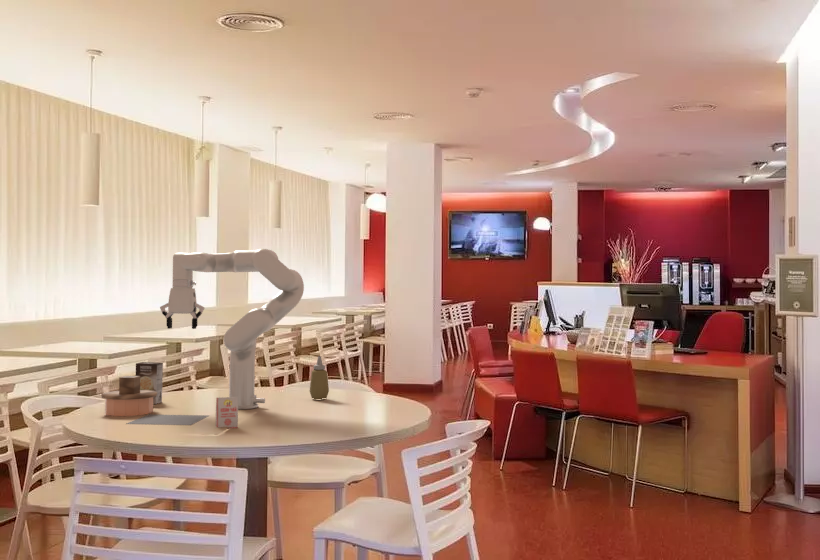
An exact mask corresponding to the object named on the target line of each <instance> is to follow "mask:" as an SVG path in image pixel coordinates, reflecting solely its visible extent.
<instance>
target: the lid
mask: <svg viewBox="0 0 820 560" xmlns="http://www.w3.org/2000/svg"><path fill="white" fill-rule="evenodd" d="M118 379H119V381H118V390H113V391H107V392H106V391H105V392H103V393H101V398H102V399H104V400H105V399H115V400H129V399H144V398H151V397H155V396H157V392H156V391H150V390H140V376H136V375H123V376H120V377H118Z"/></svg>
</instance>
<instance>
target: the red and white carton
mask: <svg viewBox="0 0 820 560" xmlns="http://www.w3.org/2000/svg"><path fill="white" fill-rule="evenodd" d="M215 399H216V402H215V427H216V428H226V427H227V428H226V429H239V425H238V424H239V420H238V419H239V409H238V397H229V396H227V397H226V396H225V397H224V396H222V397H216V398H215Z"/></svg>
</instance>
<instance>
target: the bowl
mask: <svg viewBox="0 0 820 560" xmlns="http://www.w3.org/2000/svg"><path fill="white" fill-rule="evenodd" d="M104 401H105V405H104V413H105V416H106V417H108V416H111V417H112V416H113V417H114V416H115V417H131V416H143V415H149V414H152V413H154V404H153V397H151V398H144V399H129V400H115V399H105V398H104Z"/></svg>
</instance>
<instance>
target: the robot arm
mask: <svg viewBox="0 0 820 560" xmlns="http://www.w3.org/2000/svg"><path fill="white" fill-rule="evenodd" d="M194 272H199V273H229V272H230V273H255V272H257V273H260V274H261V275H262V276H263V277H264V278H265V279H267V281H268V282H270V284H272V285H273V286H274V287H275V288H277V289H278V290H280V291H279V292H278V293H277V294H275V295H274V296H273V297H272V298H270V299H269V300H268V301H267V302H266V303H265V304H264V305H262V306H261V307H256V308H253V309H251V310H249V311H248V312H247V313H245V315H243V316H241V318H240V319H238V320H237V321H236V322H235V323H234V324H233V325H231V326H230V328H228V329H227V330H226V332H225V334H224V335H223V344H224V346H225V348H226V349H228V350H229V351H230V354H229V381H228V382H229V384H228V386H229V387H228V388H229V390H228V391H229V392H228V394H229V395H228V397H238V410H251V409H257V408H258V407H259V404H265V403H266V398H264V397H257V394H255V375H256V374H255V371H256V369H255V368H256V367H255V364H256V349H257V339H258V338H259V337H260V336H261V335H263V333H267V332H269V331H271V329H273V328H274V327H275V325H277V324H278V323H279V322H280V321H281V320H283V319H284V318H285V317H286V316H287V315H288V314H289V313H290V312H291V311H292V310H294V308H296V306H298V304H299V303H300V301H301V299H302V297H303V294H304V291H305V284H304V280H303V277H302V275H301V274H300V273H299V272H298V271H297V270H295V269H292V268H289V267H288V266H286V265H285V264H284V263H283V262H281V261H280V260H279V256H278V254H277V253H276V252H274V250H272V249H267V248H259V249H255V250H254V249H251V250H249V249H247V250H246V249H245V250H244V249H243V250H240V249H239V250H238V249H237V250H234V251H232V252H226V253H223V252H222V253H206V252H201V251H199V252H191V253H190V252H189V253H188V252H175V253H174V254H173V255H172V287H171V288H170V290H169V295H168V302H167V303H165V304H163V305H161V306H159V309H160V311H161V313H162V315H163V316H164V317H165V319H166V328H167V329H168V330H169V329H172V328H173V318H172V317H173V316H174V314H181V315H182V314H189V315H191V317H192V319H191V329H192V330H194V329H197V327H198V319H199V317H201V315H202V314H203V312H204V310H205V307H204V306H202V305H201V304H199V303H197V293H196V290H195V289H196V288H193V287H194V286H197V282H196V281H194V280H193V275H194ZM166 309H167V310H166ZM197 309H198V310H197ZM167 311H168V312H167Z"/></svg>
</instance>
